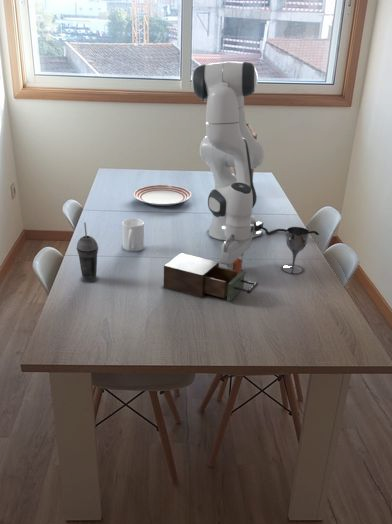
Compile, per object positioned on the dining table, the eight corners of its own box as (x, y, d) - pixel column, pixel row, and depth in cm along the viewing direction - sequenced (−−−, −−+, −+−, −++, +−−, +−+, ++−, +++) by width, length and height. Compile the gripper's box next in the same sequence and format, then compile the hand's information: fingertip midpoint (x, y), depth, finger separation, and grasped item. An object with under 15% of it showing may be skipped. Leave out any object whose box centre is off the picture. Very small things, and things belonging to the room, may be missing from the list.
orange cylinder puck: (236, 267, 214) (237, 256, 212) (243, 273, 211) (245, 262, 208) (225, 270, 212) (225, 259, 210) (232, 275, 208) (233, 264, 206)
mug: (140, 256, 219) (140, 230, 214) (118, 255, 220) (118, 229, 214) (145, 244, 229) (145, 219, 224) (125, 243, 230) (124, 218, 224)
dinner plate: (170, 213, 261) (170, 206, 259) (121, 201, 273) (121, 194, 271) (202, 198, 281) (202, 191, 279) (155, 187, 293) (155, 181, 291)
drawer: (259, 292, 196) (261, 275, 193) (246, 306, 187) (248, 288, 184) (207, 279, 203) (208, 262, 200) (193, 292, 194) (193, 274, 191)
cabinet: (217, 283, 203) (219, 261, 198) (201, 297, 193) (203, 275, 189) (180, 274, 208) (181, 252, 203) (163, 287, 198) (163, 265, 194)
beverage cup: (82, 285, 197) (78, 229, 186) (76, 276, 202) (71, 221, 192) (103, 281, 200) (100, 226, 189) (95, 273, 205) (92, 218, 195)
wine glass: (305, 267, 217) (311, 228, 209) (301, 275, 211) (307, 236, 203) (284, 263, 219) (289, 225, 211) (279, 271, 213) (284, 232, 205)
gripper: (233, 242, 194) (230, 280, 201) (256, 224, 210) (252, 259, 217) (216, 238, 196) (214, 275, 204) (240, 221, 212) (237, 256, 219)
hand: (234, 267), depth 210 cm, fingers open, 6 cm apart
